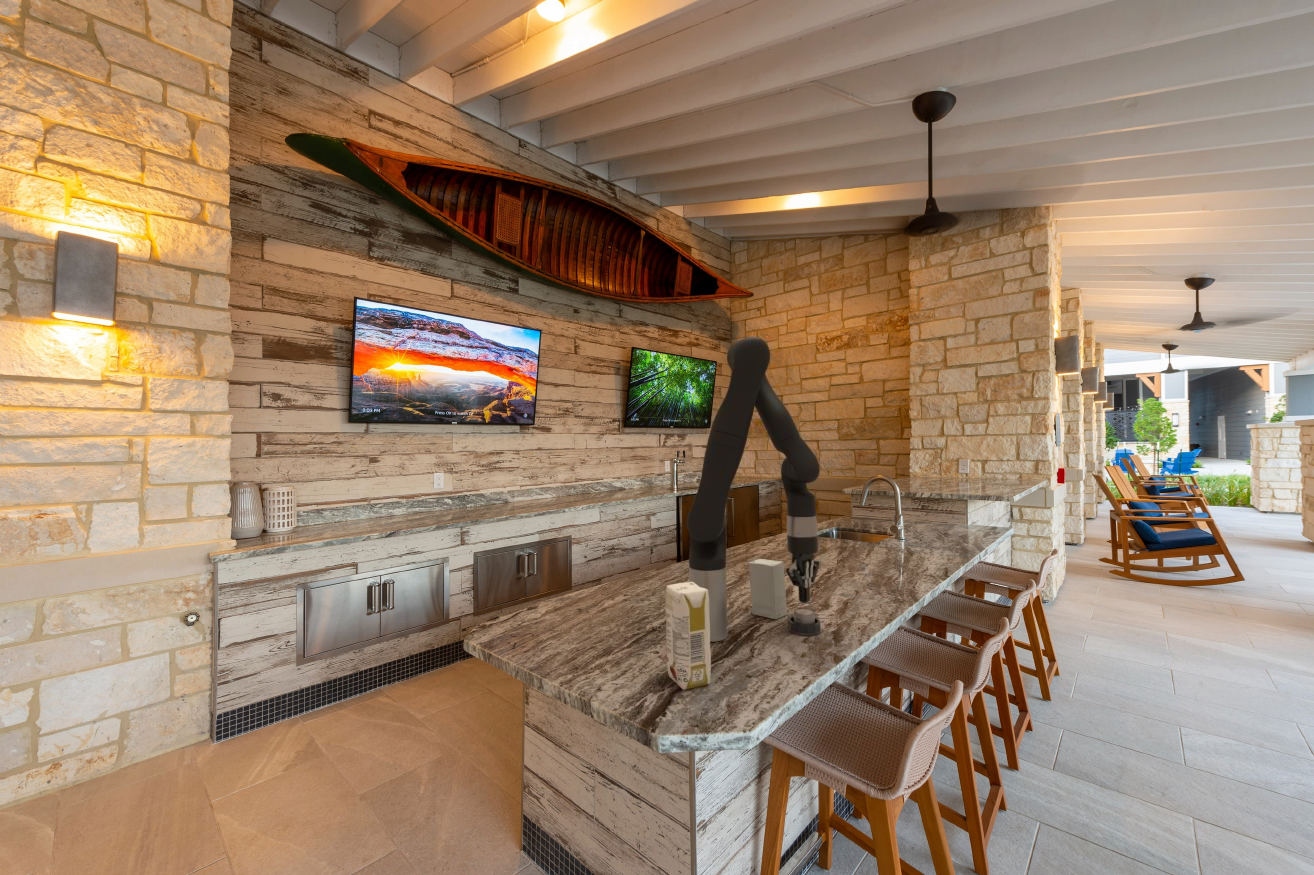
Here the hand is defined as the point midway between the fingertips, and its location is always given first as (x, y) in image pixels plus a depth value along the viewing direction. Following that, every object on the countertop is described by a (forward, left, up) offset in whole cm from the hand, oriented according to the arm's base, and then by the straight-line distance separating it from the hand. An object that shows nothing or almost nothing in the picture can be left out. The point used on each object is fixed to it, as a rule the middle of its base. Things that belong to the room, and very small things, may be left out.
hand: (804, 601), depth 133 cm
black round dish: (0, 0, -7) cm, 7 cm away
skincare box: (-5, +14, -8) cm, 16 cm away
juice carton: (-35, -21, -8) cm, 41 cm away
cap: (0, 0, -7) cm, 7 cm away
